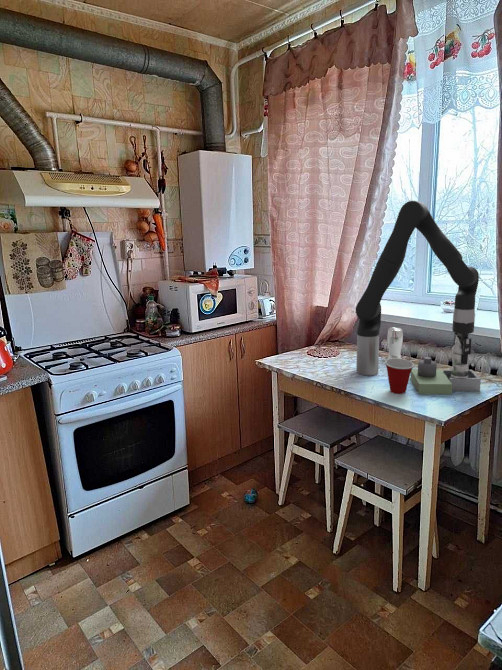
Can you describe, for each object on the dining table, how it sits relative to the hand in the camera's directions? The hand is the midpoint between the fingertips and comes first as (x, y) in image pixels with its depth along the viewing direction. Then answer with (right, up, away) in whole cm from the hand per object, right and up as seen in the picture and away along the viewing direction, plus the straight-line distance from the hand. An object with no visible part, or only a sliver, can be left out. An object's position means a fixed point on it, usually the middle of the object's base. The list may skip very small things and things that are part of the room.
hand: (460, 360), depth 179 cm
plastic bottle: (0, -10, +3) cm, 11 cm away
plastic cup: (-24, -12, 0) cm, 27 cm away
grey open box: (+1, -10, +3) cm, 11 cm away
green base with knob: (-10, -10, +4) cm, 15 cm away
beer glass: (-14, -2, +39) cm, 42 cm away
